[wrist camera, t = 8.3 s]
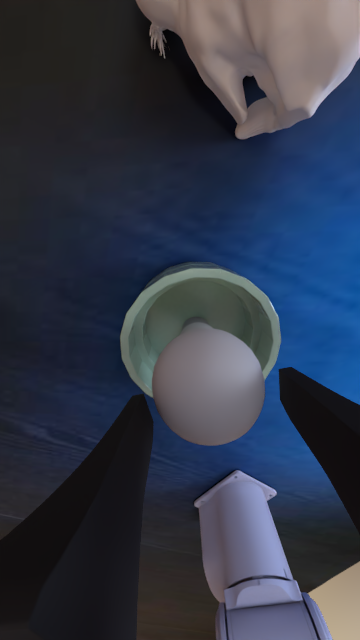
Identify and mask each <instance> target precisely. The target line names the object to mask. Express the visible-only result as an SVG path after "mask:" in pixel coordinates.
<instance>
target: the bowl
mask: <svg viewBox="0 0 360 640" xmlns="http://www.w3.org/2000/svg"><path fill="white" fill-rule="evenodd" d="M191 317H201V318H203V319H205V320H206V321H207V322H208V324H209V325H210V326H211V327H212V328H213V329H219V330H223V331H225V332H228V333H231V334H232V335H234V336H235V337H237V338H238V339H240V340H241V341H243V342H244V343H245V344H246V345H247V346H248V347H249V348H250V349H251V350H252V352H253V353H254V355H255V356H256V358H257V360H258V361H259V363H260V366H261V369H262V373H263V376H264V380H265V379H266V377H267V375H268V374H269V372H270V371H271V369H272V368H273V366H274V364H275V363H276V359H277V355H278V351H279V347H280V343H281V334H280V326H279V318H278V315H277V313H276V312H275V310H274V308H273V306H272V304H271V302H270V300H269V298H268V297H267V296H266V295H265V294H264V293H263V292H262V291H261V290H260V289H259V288H257V287H256V286H255V285H254V284H253V283H252V282H250V281H249V280H248V279H246V278H245V277H243V276H241V275H239V274H237V273H235V272H234V271H232V270H230V269H227V268H224V267H222V266H219V265H217V264H214V263H210V262H186V263H182V264H179V265H176V266H173V267H169V268H168V269H165V270H164V271H163V272H161V273H160V274H158V275H157V276H155V277H154V278H153V279H151V280H150V281H149V282H148V284H147V285H146V287H145V288H144V289H143V291H142V292H141V294H140V295H139V296H138V298H137V299H136V301H135V302H134V303H133V305H132V306H131V308H130V309H129V310H128V312H127V314H126V316H125V320H124V323H123V327H122V331H121V334H120V344H121V355H122V360H123V362H124V364H125V366H126V368H127V371H128V373H129V375H130V377H131V378H132V380H133V381H134V382H135V383H136V384H137V385H138V386H139V387H140V388H141V389H142V390H143V391H144V392H145V393H146V394H147V395H149V396H151V397H152V398H153V392H152V377H153V371H154V366H155V364H156V361H157V359H158V357H159V355H160V354H161V352H162V351H163V350H164V348H165V347H166V345H167V344H168V343H170V342H171V341H172V340H173V339H174V338H176V337H177V336H179V335H180V333H181V331H182V326H183V324H184V322H185V321H186V320H187V319H189V318H191Z"/></svg>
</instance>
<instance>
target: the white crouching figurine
mask: <svg viewBox="0 0 360 640" xmlns="http://www.w3.org/2000/svg"><path fill="white" fill-rule="evenodd" d="M136 2H137V4H138V6H139V8H140V9H141V11H142V12H143V14H144V15H145V16H146V17H147V18H148V19H149V20H150V21H151V22H152V24H151V26H150V35H151V32H152V36H151V47H152V43H153V38H154V49H155V44H156V40H157V42H159V44H158V48H160V53H161V56H162V51H163V55H164V58H165V54H164V48H163V45H164V44H163V42H162V37H164V35H163V36H162V34H163V33H162V31H164V30H166V29H168V30H171V31H173V32H175V33H176V34H178V35H179V36H180V37H181V38H182V41H183V43H184V45H185V48H186V50H187V53H188V55H189V57H190V59H191V60H192V62H193V63H194V65H195V66H196V68H197V70H198V73H199V75H200V77H201V78H202V80H203V81H204V83H205V84H206V85H207V86H208V87H209V88H210V89H211V90H212V92H213V93H214V94H215V95H216V96H217V97H218V99H219V100H220V101H221V103H222V104H223V105H224V107H225V108H226V109H227V110H228V112H229V113H230V114H231V115H232V116H233V118H234V119H235V120H236V122H237V126H236V130H235V135H236V137H237V138H238V139H247V138H249V137H252V136H255V135H258V134H261V133H264V132H267V133H272V132H275V131H276V130H281V129H283V128H289V127H291V126H292V125H294V124H295V123H297V122H299V121H301V120H304V119H307V118H310V117H311V116H312V115H313V114H314V113H315V111H316V109H317V107H318V106H319V105H320V103H321V102H322V101H323V100H324V99H325V98H326V97H327V96H328V95H329V94H330V92H331V91H332V90H334V89H335V88H336V87H337V86H338V85H339V84H340V83H341V82H342V81H343V80H344V79H345V78H346V77H347V76H348V75H349V73H350V72H351V71H352V69H353V67H354V65H355V63H356V61H357V60H358V59H359V57H360V0H136ZM161 33H162V34H161ZM163 39H165V37H164V38H163ZM165 41H166V39H165ZM166 43H167V42H166ZM164 47H165V46H164ZM161 48H162V51H161ZM168 48H169V47H168ZM253 75H254V77H255V79H256V81H257V83H258V86H259V87H260V89H262V90H263V91H264V92H265V94H266V96H267V97H265V98H262V99H259V100H257V101H255V102H254V103H252V104H251V105H250V106H249V107H248V109H247V106H246V101H245V95H244V89H243V78H244V77H245V76H250V77H251V76H253Z"/></svg>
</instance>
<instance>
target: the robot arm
mask: <svg viewBox="0 0 360 640" xmlns="http://www.w3.org/2000/svg"><path fill="white" fill-rule="evenodd" d="M279 384H280V400H281V402H282V404H283V406H284V408H285V410H286V412H287V414H288V416H289V418H290V420H291V421H292V423H293V424H294V426H295V427H296V429H297V430H298V432H299V433H300V435H301V436H302V438H303V439H304V441H305V442H306V444H307V445H308V447H309V448H310V450H311V451H312V453H313V454H314V456H315V457H316V459H317V460H318V462H319V463H320V465H321V466H322V468H323V470H324V471H325V473H326V474H327V476H328V478H329V479H330V481H331V483H332V485H333V486H334V488H335V490H336V492H337V494H338V495H339V497H340V499H341V501H342V502H343V504H344V506H345V508H346V510H347V512H348V514H349V515H350V517H351V519H352V521H353V523H354V525H355V526H356V528H357V530H358V532H359V534H360V405H358V404H356V403H354V402H352V401H350V400H349V399H347V398H345V397H343V396H341V395H339V394H337V393H335V392H334V391H332V390H330V389H328V388H326V387H325V386H323V385H321V384H319V383H318V382H316V381H314V380H313V379H311V378H309V377H307V376H306V375H304V374H302V373H301V372H299V371H297V370H296V369H294V368H292V367H288V368H282V369H279ZM152 442H153V419H152V416H151V413H150V411H149V408H148V405H147V402H146V400H145V397H144V394H140V395H134V396H132V397H131V399H130V400H129V402H128V403H127V404H126V406H125V407H124V409H123V410H122V412H121V413H120V415H119V416H118V417H117V419H116V420H115V422H114V423H113V424H112V426H111V427H110V429H109V430H108V431H107V433H106V434H105V435H104V436H103V438H102V439H101V440H100V442H99V443H98V444H97V445H96V447H95V448H94V449H93V451H92V452H91V453H90V454H89V455H88V456H87V458H86V459H85V460H84V461H83V462H82V463H81V464H80V466H79V467H78V468H77V469H76V470H75V471H74V472H73V473H72V474H71V475H70V476H69V477H68V478H67V479H66V480H65V481H64V482H63V483H62V484H61V485H60V487H59V488H58V489H57V490H56V491H55V492H54V493H53V494H52V495H51V496H50V497H49V498H48V499H46V500H45V501H44V502H43V503H42V504H41V505H40V506H39V507H38V508H37V509H36V510H35V511H34V512H33V513H31V514H30V515H29V516H28V517H27V518H26V519H25V520H24V521H23V522H21V523H20V524H19V525H18V526H17V527H16V528H15V529H13V530H12V531H11V532H10V533H9V534H8V535H6V536H5V537H4V538H3V539H2V540H0V640H136V630H137V599H138V577H139V557H140V541H141V526H142V513H143V502H144V494H145V487H146V481H147V474H148V468H149V462H150V455H151V449H152ZM276 494H277V493H276V490H274V489H273V488H271V487H269V486H267V485H265V484H263V483H261V482H260V481H258V480H256V479H254V478H252V477H250V476H248V475H247V474H245V473H243V472H241V471H239V470H236V471H234V472H233V473H231V474H230V475H229V476H227V477H226V478H225V479H223V480H222V481H221V482H219V483H218V484H217V485H215V486H214V487H213V488H211V489H210V490H209V491H207V492H206V493H205V494H203V495H202V496H201V497H199V498H198V499H197V500H196V501H195V502H194V505H195V506H196V507H198V508H199V517H200V530H201V543H202V555H203V565H204V571H205V575H206V579H207V582H208V584H209V587H210V589H211V591H212V593H213V595H214V596H215V597H216V599H217V600H218V601H219V602H220V604H219V608H218V611H217V613H216V640H332V637H331V634H330V632H329V630H328V627H327V625H326V623H325V620H324V618H323V616H322V613H321V611H320V609H319V607H318V606H317V604H316V603H315V602H314V601H313V600H312V599H311V598H310V596H309V595H308V594H307V593H300V590H299V587H298V584H297V581H296V580H293V578H292V575H291V572H290V569H289V566H288V563H287V560H286V557H285V554H284V551H283V548H282V545H281V542H280V539H279V536H278V534H277V531H276V528H275V525H274V522H273V519H272V516H271V513H270V510H269V507H268V504H267V500H269V499H271V498H272V497H274V496H275V495H276Z"/></svg>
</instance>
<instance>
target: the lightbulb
mask: <svg viewBox="0 0 360 640" xmlns="http://www.w3.org/2000/svg"><path fill="white" fill-rule="evenodd" d="M152 392H153V398H154V401H155V404H156V407H157V410H158V413H159V414H160V416H161V417H162V419H163V420H164V422H165V423H166V424H167V425H168V426H169V427H170V429H171V430H172V431H174V432H175V433H176V434H178V435H179V436H180V437H182V438H183V439H185V440H187V441H189V442H192V443H196V444H200V445H221V444H225V443H228V442H231V441H233V440H235V439H237V438H239V437H241V436H242V435H244V434H245V433H246V432H247V431H248V430H249V429H250V428H251V427H252V425H253V424H254V423H255V421H256V420H257V418H258V416H259V414H260V412H261V409H262V406H263V403H264V397H265V385H264V376H263V373H262V369H261V366H260V363H259V361H258V360H257V358H256V356H255V355H254V353H253V352H252V350H251V349H250V348H249V347H248V346H247V345H246V344H245V343H244V342H243V341H241V340H240V339H238V338H237V337H235V336H234V335H232V334H231V333H228V332H225V331H223V330H219V329H213V328H212V327H211V326H210V325H209V324H208V322H207V321H206V320H205V319H203V318H201V317H191V318H189V319H187V320H186V321H185V322H184V324H183V326H182V331H181V333H180V335H179V336H177V337H176V338H174V339H173V340H172V341H171V342H170V343H168V344H167V345H166V347H165V348H164V350H163V351H162V352H161V354H160V355H159V357H158V359H157V361H156V364H155V366H154V371H153V377H152Z"/></svg>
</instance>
